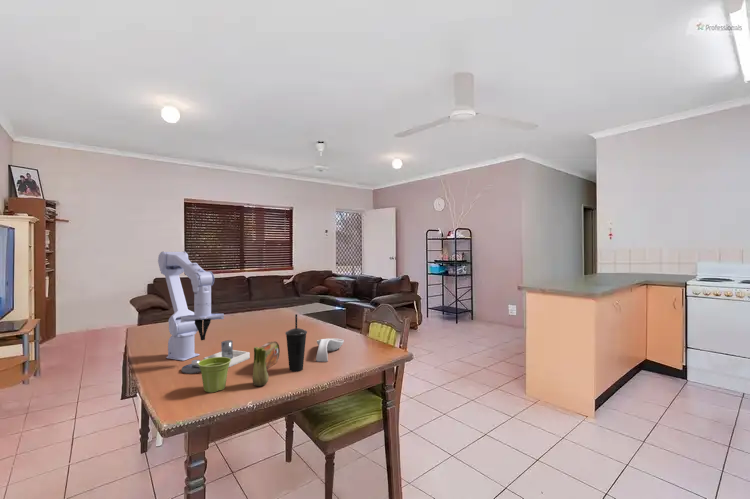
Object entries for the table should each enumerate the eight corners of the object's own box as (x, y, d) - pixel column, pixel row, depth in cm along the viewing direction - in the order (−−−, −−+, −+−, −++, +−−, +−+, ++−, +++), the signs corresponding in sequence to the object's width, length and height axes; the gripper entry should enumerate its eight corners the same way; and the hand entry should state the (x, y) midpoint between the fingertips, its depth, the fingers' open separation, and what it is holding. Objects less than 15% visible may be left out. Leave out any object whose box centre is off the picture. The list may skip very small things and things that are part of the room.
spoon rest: (319, 345, 160) (319, 329, 160) (345, 345, 159) (345, 330, 159) (307, 362, 136) (307, 344, 136) (337, 362, 135) (337, 344, 135)
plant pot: (205, 383, 114) (205, 356, 114) (235, 382, 115) (234, 356, 115) (192, 395, 105) (192, 366, 105) (225, 394, 105) (225, 365, 105)
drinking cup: (310, 367, 130) (310, 313, 129) (299, 374, 122) (299, 317, 122) (292, 365, 132) (292, 312, 132) (281, 371, 125) (281, 315, 125)
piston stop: (219, 360, 136) (219, 342, 135) (229, 357, 139) (228, 339, 139) (225, 362, 133) (225, 343, 133) (235, 359, 137) (234, 341, 136)
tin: (260, 374, 123) (260, 350, 123) (252, 373, 123) (252, 349, 123) (280, 360, 138) (280, 339, 138) (273, 359, 138) (273, 338, 138)
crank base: (175, 371, 124) (175, 368, 124) (196, 364, 133) (196, 361, 133) (194, 375, 121) (194, 372, 121) (215, 366, 130) (215, 363, 130)
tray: (203, 364, 132) (203, 358, 132) (227, 355, 144) (227, 349, 144) (226, 368, 128) (226, 361, 128) (249, 358, 140) (249, 352, 140)
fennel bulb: (251, 382, 115) (251, 346, 115) (267, 380, 117) (267, 344, 117) (253, 389, 110) (253, 350, 110) (269, 386, 112) (269, 349, 112)
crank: (189, 366, 126) (189, 356, 126) (196, 364, 129) (196, 354, 129) (210, 369, 123) (210, 359, 123) (216, 367, 126) (216, 357, 126)
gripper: (179, 306, 126) (179, 344, 126) (223, 304, 132) (223, 340, 132) (181, 303, 132) (181, 339, 132) (223, 301, 138) (223, 335, 138)
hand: (202, 339), depth 132 cm, fingers closed
